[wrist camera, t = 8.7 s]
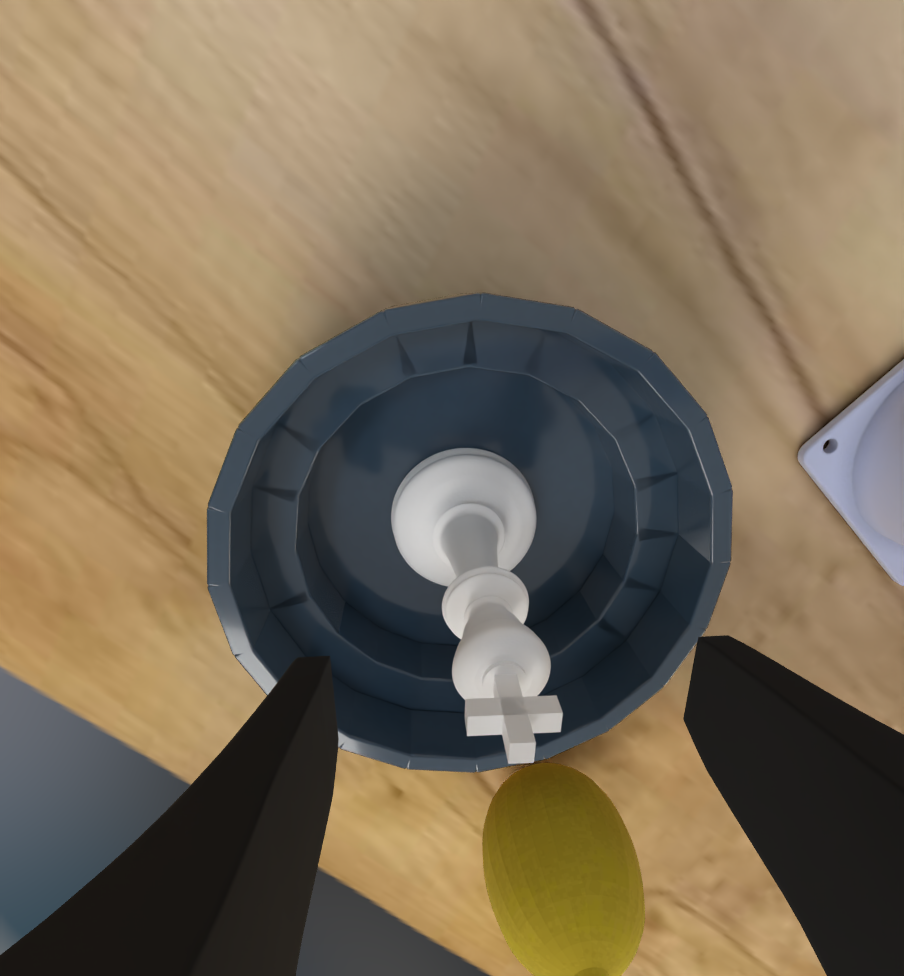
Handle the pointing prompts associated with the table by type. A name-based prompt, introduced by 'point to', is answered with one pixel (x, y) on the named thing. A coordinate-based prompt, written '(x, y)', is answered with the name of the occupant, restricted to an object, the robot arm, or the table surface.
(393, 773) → the table surface
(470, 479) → the chess piece
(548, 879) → the lemon
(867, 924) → the robot arm
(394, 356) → the bowl
